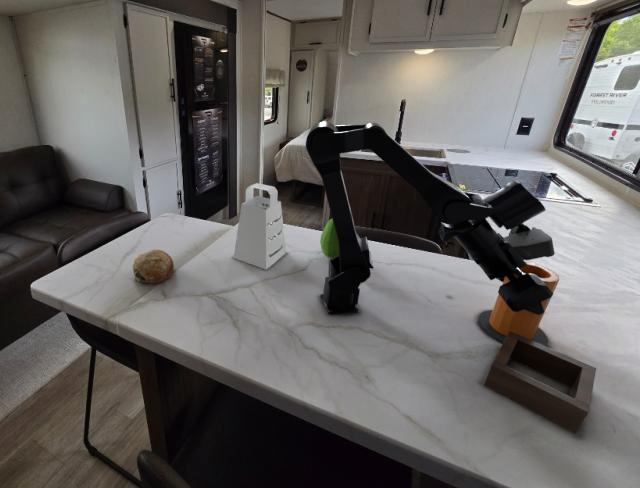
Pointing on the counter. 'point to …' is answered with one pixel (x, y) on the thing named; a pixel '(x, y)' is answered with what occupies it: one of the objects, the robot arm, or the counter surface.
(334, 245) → the avocado
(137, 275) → the bread roll
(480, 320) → the coaster
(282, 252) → the grater
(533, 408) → the open rectangular box
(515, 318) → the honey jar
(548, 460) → the counter surface
